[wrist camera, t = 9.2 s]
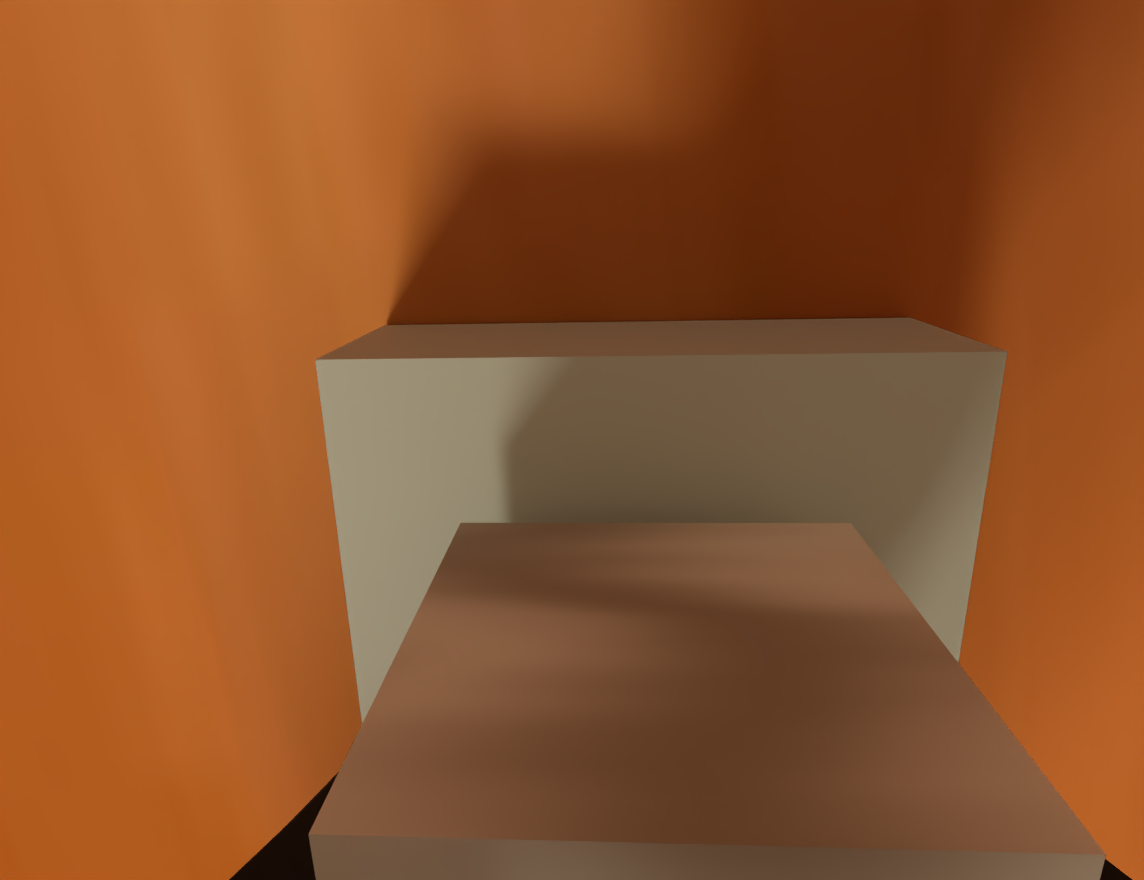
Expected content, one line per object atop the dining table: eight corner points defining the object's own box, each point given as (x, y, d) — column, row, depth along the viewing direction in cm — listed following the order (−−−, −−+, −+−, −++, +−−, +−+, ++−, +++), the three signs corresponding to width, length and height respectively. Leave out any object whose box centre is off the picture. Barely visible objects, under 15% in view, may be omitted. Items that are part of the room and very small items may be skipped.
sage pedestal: (426, 749, 17) (382, 879, 14) (384, 325, 14) (315, 360, 11) (859, 758, 17) (922, 895, 13) (910, 317, 14) (1007, 351, 10)
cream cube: (482, 826, 12) (384, 1296, 7) (460, 522, 10) (308, 834, 5) (819, 835, 12) (985, 1335, 7) (850, 523, 10) (1105, 854, 5)
